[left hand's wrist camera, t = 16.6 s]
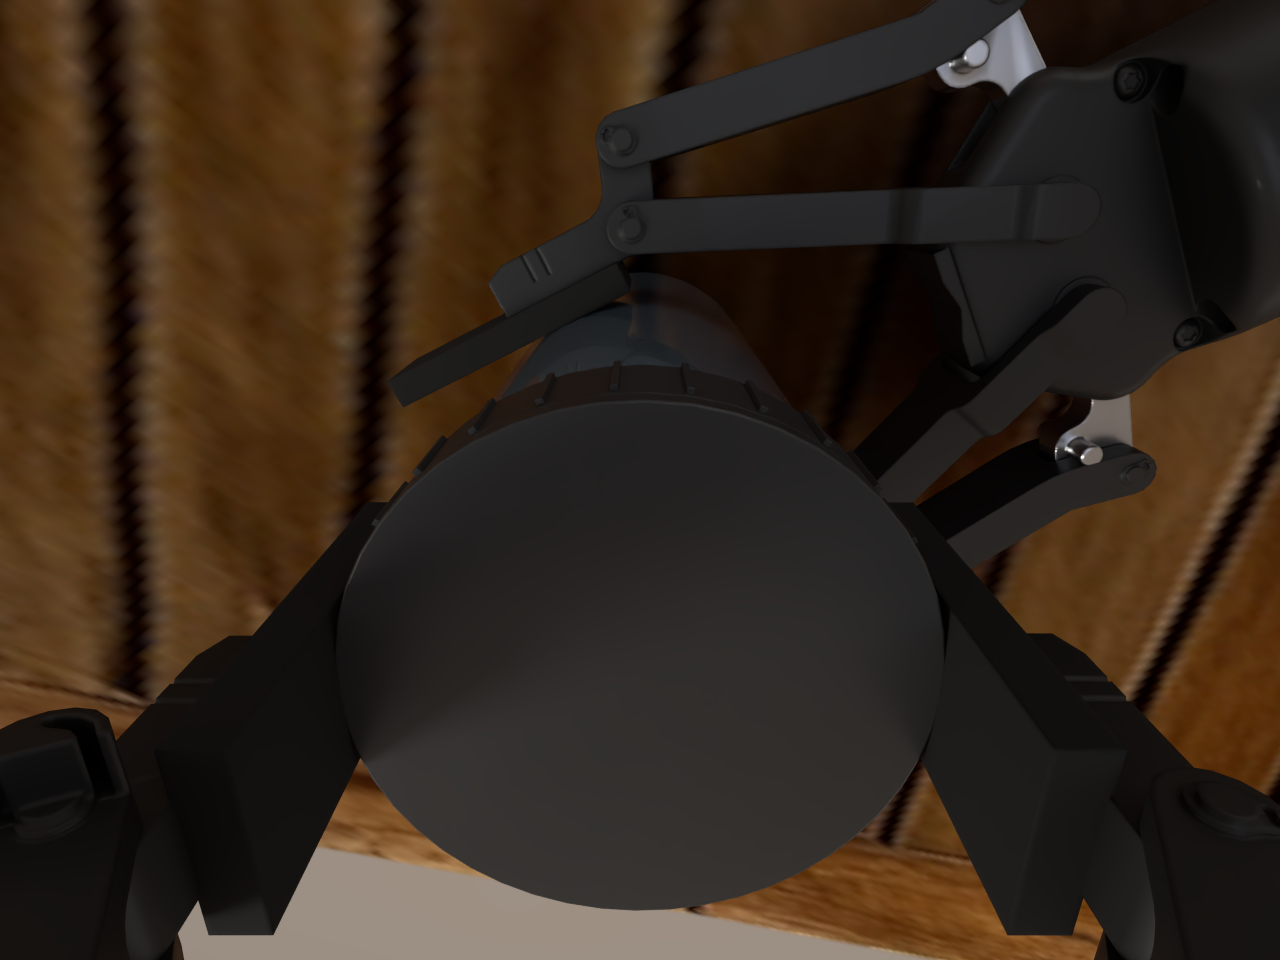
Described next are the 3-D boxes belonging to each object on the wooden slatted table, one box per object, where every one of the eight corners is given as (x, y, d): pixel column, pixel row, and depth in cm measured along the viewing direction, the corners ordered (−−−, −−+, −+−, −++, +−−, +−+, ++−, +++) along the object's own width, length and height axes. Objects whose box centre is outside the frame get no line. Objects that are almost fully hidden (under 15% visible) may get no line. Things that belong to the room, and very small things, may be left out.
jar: (726, 503, 29) (829, 882, 13) (518, 472, 28) (366, 825, 13) (773, 293, 26) (979, 455, 10) (542, 254, 25) (384, 360, 10)
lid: (706, 234, 10) (721, 243, 8) (996, 664, 13) (1056, 745, 11) (264, 569, 12) (196, 638, 10) (593, 885, 15) (586, 987, 13)
